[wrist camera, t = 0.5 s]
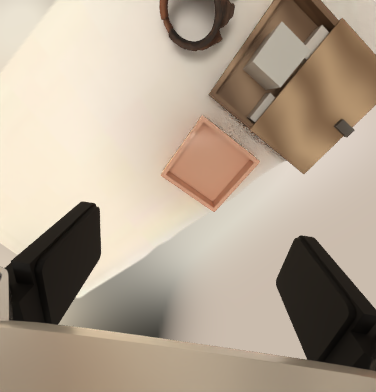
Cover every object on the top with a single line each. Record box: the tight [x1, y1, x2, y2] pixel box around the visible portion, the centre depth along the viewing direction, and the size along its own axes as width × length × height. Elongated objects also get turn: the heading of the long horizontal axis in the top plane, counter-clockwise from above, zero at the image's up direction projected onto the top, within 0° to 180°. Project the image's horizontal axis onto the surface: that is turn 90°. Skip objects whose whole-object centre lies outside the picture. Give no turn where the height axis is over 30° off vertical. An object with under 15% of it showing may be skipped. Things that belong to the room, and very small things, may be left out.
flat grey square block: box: [247, 93, 275, 123], centre depth 31 cm, size 4×4×2 cm
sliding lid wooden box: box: [209, 0, 376, 174], centre depth 29 cm, size 16×19×4 cm
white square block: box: [301, 25, 329, 65], centre depth 27 cm, size 4×4×2 cm
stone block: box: [243, 22, 310, 90], centre depth 26 cm, size 4×4×6 cm
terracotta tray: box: [161, 115, 260, 212], centre depth 34 cm, size 11×11×3 cm
